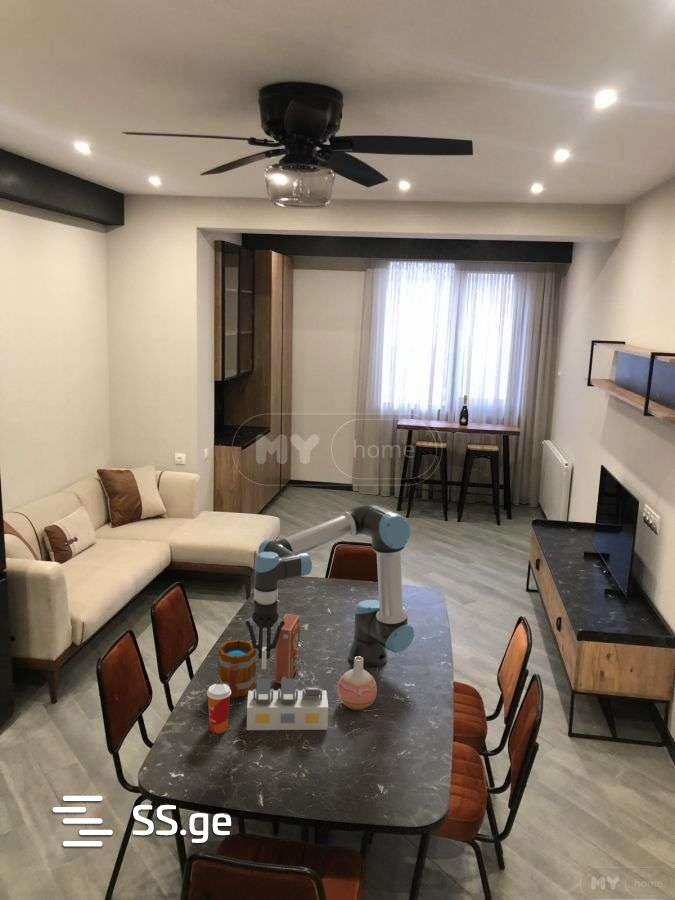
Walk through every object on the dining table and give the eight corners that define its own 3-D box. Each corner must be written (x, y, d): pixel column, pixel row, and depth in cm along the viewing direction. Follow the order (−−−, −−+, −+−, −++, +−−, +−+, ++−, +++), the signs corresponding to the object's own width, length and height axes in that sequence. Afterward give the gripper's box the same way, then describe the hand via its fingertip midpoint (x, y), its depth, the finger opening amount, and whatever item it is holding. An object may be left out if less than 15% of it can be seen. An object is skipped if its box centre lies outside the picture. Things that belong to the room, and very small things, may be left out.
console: (325, 711, 238) (326, 681, 236) (327, 730, 228) (328, 698, 226) (248, 712, 236) (248, 681, 234) (246, 730, 226) (247, 699, 224)
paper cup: (207, 721, 230) (208, 682, 227) (231, 721, 231) (232, 682, 228) (205, 735, 222) (205, 695, 220) (229, 735, 223) (230, 695, 220)
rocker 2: (295, 681, 235) (295, 677, 234) (295, 703, 227) (295, 699, 226) (280, 682, 234) (280, 678, 233) (280, 703, 227) (280, 699, 226)
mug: (220, 676, 258) (220, 638, 255) (257, 677, 258) (257, 639, 255) (211, 706, 239) (212, 666, 235) (251, 707, 239) (252, 667, 236)
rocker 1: (271, 682, 234) (271, 678, 233) (270, 704, 226) (270, 699, 225) (256, 682, 234) (256, 678, 233) (255, 704, 226) (255, 699, 225)
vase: (348, 720, 234) (350, 671, 231) (329, 699, 246) (331, 653, 242) (383, 711, 241) (386, 663, 237) (363, 691, 252) (366, 645, 249)
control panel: (300, 666, 267) (289, 687, 253) (282, 664, 269) (271, 684, 254) (302, 614, 263) (291, 631, 248) (284, 611, 264) (272, 629, 250)
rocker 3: (318, 691, 235) (318, 685, 236) (320, 695, 227) (320, 689, 227) (304, 691, 235) (304, 685, 235) (305, 695, 226) (305, 689, 227)
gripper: (286, 595, 231) (283, 661, 235) (245, 595, 229) (244, 661, 234) (286, 605, 223) (283, 673, 228) (244, 604, 222) (243, 673, 227)
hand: (263, 667), depth 231 cm, fingers closed
